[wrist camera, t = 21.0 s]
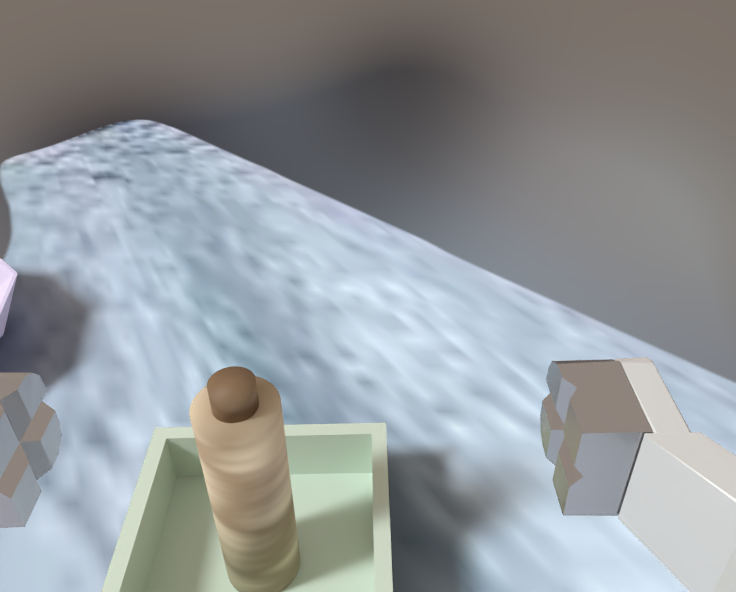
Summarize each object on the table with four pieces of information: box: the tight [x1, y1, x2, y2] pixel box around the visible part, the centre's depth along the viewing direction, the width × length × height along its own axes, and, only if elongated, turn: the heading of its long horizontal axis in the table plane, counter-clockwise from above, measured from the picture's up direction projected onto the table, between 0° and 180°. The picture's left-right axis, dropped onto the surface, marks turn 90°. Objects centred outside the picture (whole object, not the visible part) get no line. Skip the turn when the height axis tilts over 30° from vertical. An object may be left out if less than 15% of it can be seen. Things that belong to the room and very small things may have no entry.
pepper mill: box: [189, 367, 300, 592], centre depth 38 cm, size 5×5×16 cm
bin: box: [101, 423, 393, 592], centre depth 42 cm, size 16×16×5 cm
